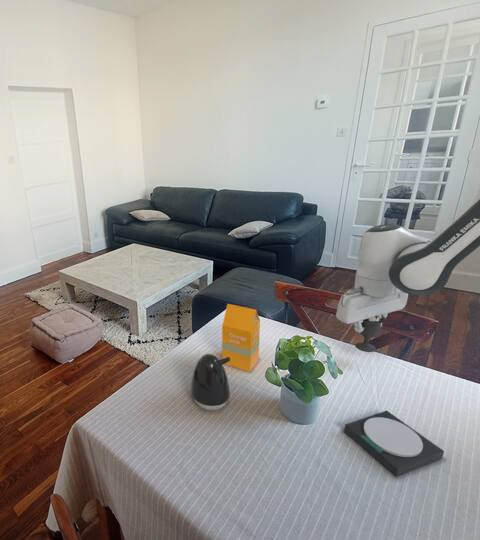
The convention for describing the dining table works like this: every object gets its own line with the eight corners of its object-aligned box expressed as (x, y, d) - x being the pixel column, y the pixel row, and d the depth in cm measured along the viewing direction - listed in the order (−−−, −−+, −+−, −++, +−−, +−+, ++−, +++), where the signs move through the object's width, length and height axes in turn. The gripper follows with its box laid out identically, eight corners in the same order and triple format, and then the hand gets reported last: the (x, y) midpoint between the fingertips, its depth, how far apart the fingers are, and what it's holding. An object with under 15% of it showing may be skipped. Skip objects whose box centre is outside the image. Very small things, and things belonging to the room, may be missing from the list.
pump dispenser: (235, 415, 87) (236, 367, 81) (194, 418, 87) (192, 369, 82) (225, 388, 96) (225, 343, 91) (188, 391, 97) (186, 346, 92)
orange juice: (250, 374, 101) (252, 315, 94) (221, 365, 106) (221, 308, 99) (258, 360, 106) (261, 304, 99) (231, 352, 112) (231, 298, 105)
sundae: (378, 343, 98) (386, 297, 93) (380, 356, 93) (388, 307, 88) (351, 339, 102) (358, 294, 97) (351, 350, 97) (358, 303, 92)
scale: (384, 420, 81) (387, 408, 79) (441, 461, 70) (445, 448, 68) (343, 434, 78) (345, 422, 77) (395, 480, 67) (398, 466, 66)
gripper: (353, 296, 86) (347, 343, 90) (416, 280, 90) (407, 325, 94) (332, 287, 91) (328, 332, 96) (392, 273, 96) (385, 316, 100)
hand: (368, 328), depth 95 cm, fingers closed on sundae, 5 cm apart
